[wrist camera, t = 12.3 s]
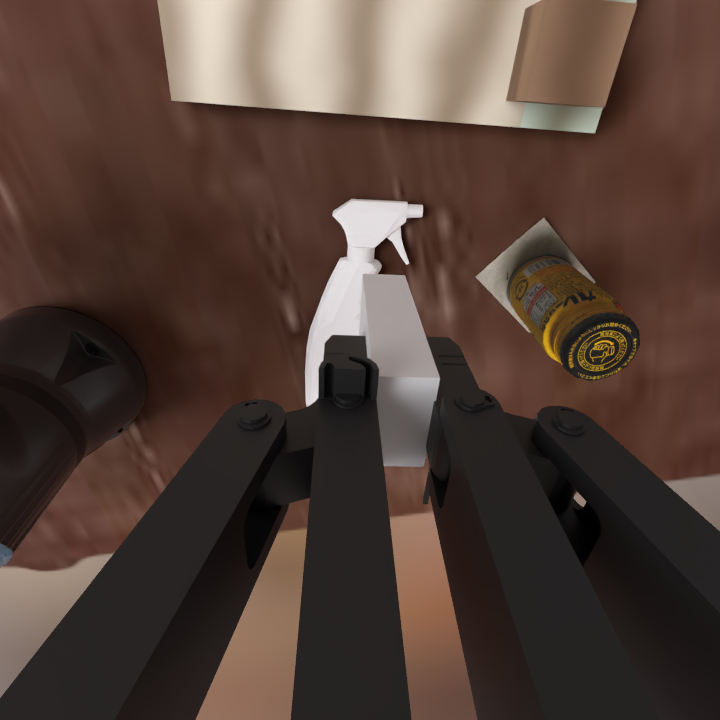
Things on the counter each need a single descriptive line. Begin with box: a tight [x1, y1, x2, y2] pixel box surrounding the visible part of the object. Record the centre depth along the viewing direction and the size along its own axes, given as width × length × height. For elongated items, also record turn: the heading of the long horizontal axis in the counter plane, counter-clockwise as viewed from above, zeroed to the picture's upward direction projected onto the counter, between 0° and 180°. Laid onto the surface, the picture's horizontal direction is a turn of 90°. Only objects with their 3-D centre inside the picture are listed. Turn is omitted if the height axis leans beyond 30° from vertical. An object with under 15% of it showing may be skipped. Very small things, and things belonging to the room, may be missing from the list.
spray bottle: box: [305, 199, 423, 407], centre depth 41 cm, size 3×11×25 cm
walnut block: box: [506, 0, 637, 107], centre depth 27 cm, size 5×5×4 cm
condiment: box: [476, 218, 640, 381], centre depth 34 cm, size 7×8×12 cm
